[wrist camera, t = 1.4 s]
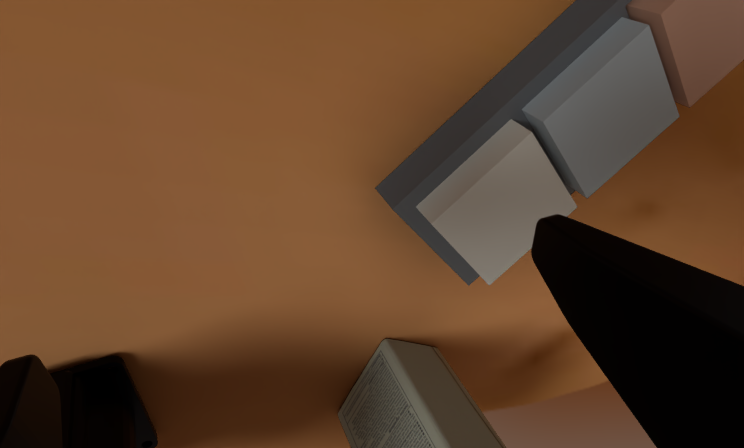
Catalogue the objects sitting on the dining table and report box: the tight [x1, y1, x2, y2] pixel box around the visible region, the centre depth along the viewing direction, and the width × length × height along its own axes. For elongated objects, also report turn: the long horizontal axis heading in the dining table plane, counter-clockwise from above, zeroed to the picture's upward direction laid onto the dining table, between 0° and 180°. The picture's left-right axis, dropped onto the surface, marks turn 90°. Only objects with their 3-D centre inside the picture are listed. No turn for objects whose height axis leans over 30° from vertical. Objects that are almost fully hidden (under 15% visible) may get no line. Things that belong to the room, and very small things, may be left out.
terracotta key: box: [625, 0, 744, 108], centre depth 24 cm, size 6×6×2 cm
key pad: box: [375, 0, 680, 285], centre depth 25 cm, size 20×7×4 cm, turn 127°
